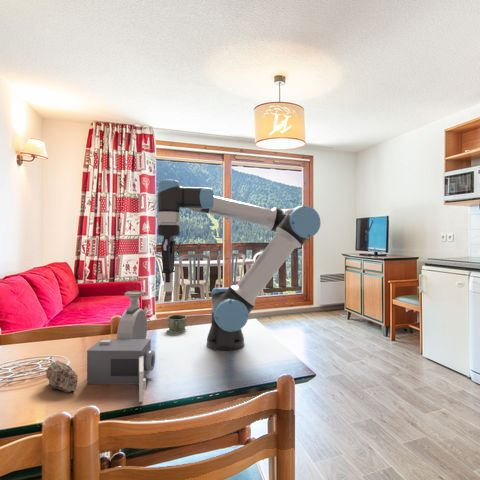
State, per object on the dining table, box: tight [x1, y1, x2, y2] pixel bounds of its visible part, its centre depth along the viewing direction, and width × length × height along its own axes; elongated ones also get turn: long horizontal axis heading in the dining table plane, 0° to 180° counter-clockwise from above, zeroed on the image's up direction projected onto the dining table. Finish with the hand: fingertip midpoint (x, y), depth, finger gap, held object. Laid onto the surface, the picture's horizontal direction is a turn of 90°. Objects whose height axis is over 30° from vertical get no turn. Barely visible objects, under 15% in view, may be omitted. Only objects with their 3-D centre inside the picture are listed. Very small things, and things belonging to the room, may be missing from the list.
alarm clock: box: [116, 306, 148, 339], centre depth 111 cm, size 16×10×18 cm, turn 178°
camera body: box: [86, 338, 156, 385], centre depth 96 cm, size 18×10×11 cm, turn 91°
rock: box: [45, 360, 79, 393], centre depth 90 cm, size 7×11×10 cm
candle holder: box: [124, 290, 145, 307], centre depth 128 cm, size 9×9×20 cm
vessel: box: [166, 314, 188, 334], centre depth 144 cm, size 12×9×6 cm
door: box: [138, 356, 147, 403], centre depth 86 cm, size 11×2×8 cm, turn 18°
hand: (168, 291), depth 109 cm, fingers closed
